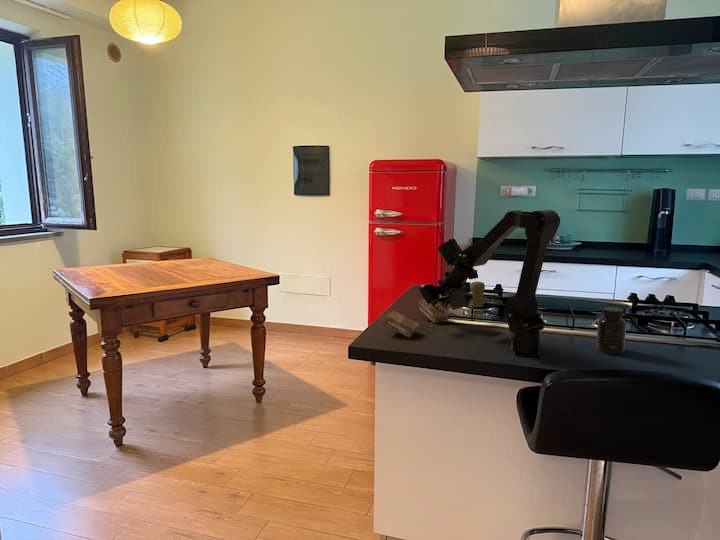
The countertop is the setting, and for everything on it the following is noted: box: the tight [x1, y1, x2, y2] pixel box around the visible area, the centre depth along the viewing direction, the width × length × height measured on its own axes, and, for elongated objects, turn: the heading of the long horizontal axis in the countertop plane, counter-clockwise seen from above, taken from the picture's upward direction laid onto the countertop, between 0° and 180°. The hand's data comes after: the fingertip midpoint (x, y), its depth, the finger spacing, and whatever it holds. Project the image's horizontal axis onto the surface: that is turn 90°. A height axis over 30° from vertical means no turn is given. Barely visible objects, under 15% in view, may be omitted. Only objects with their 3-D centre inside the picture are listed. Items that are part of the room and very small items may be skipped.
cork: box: [468, 281, 486, 308], centre depth 172 cm, size 6×6×11 cm
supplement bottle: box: [596, 306, 627, 356], centre depth 130 cm, size 7×7×12 cm
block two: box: [417, 298, 450, 324], centre depth 159 cm, size 3×6×9 cm
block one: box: [383, 310, 420, 339], centre depth 145 cm, size 3×6×9 cm
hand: (432, 304), depth 159 cm, fingers closed, pressing on block two
